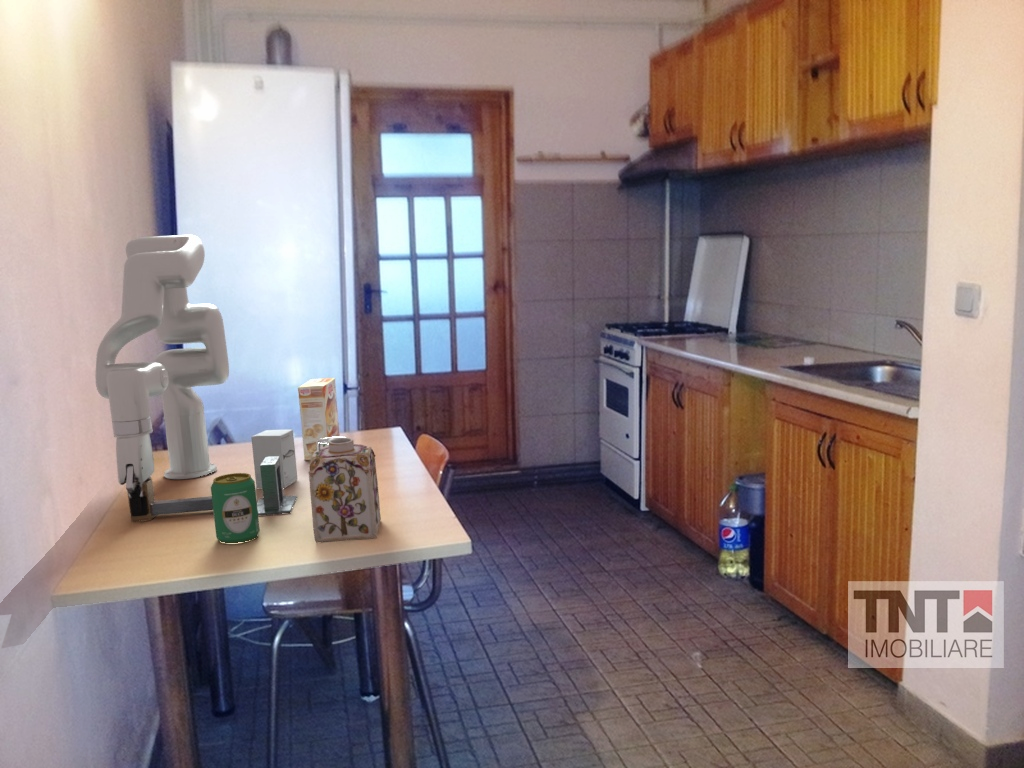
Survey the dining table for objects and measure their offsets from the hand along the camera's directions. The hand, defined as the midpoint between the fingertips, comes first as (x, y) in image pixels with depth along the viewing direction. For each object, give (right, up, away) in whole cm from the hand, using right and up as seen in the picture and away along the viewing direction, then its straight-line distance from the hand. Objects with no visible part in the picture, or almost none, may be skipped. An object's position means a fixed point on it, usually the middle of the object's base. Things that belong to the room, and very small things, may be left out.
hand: (143, 511), depth 187 cm
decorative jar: (+46, -2, -16) cm, 49 cm away
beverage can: (+25, -3, -17) cm, 31 cm away
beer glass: (+42, 0, -2) cm, 42 cm away
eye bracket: (+27, 0, +3) cm, 27 cm away
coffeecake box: (+27, +8, +52) cm, 59 cm away
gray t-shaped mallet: (+10, -1, +1) cm, 10 cm away
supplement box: (+23, +3, +22) cm, 31 cm away
